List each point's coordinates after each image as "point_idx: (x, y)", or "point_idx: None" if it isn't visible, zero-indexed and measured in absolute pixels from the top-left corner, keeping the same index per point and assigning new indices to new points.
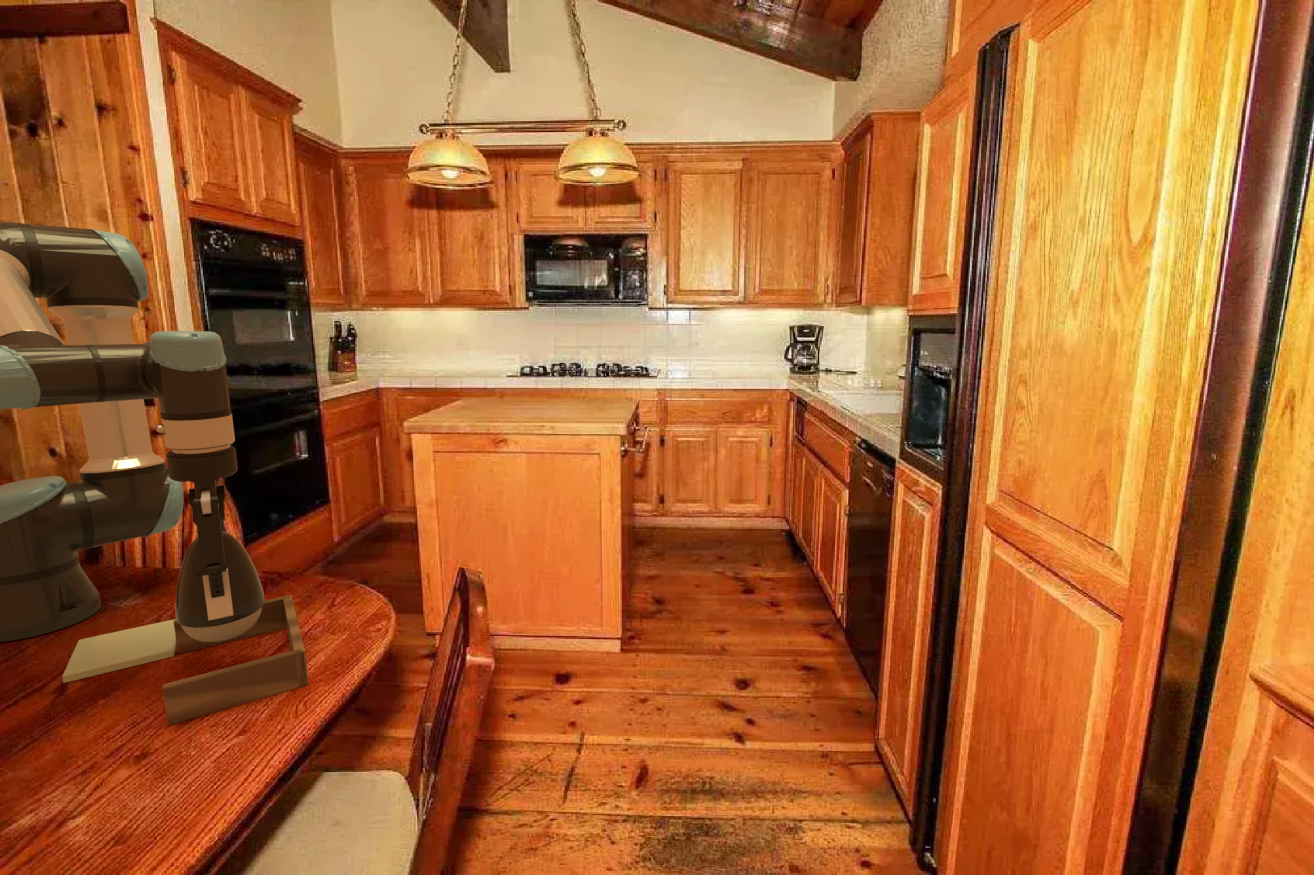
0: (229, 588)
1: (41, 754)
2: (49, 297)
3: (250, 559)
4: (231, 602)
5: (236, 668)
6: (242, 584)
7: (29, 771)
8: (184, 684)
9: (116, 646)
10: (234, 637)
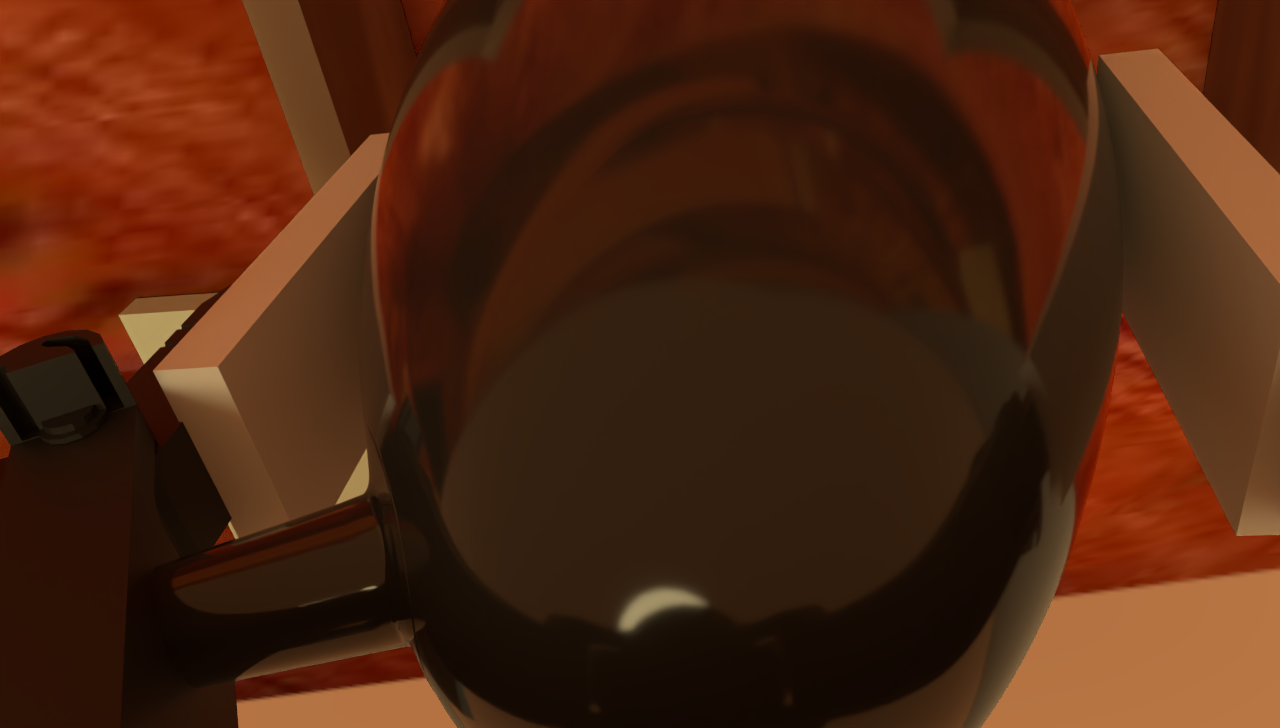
0: (1264, 168)
1: (1106, 539)
2: None
3: (692, 17)
4: (1200, 98)
5: None
6: (1047, 36)
7: (1207, 548)
8: None
9: (362, 482)
10: (400, 20)
